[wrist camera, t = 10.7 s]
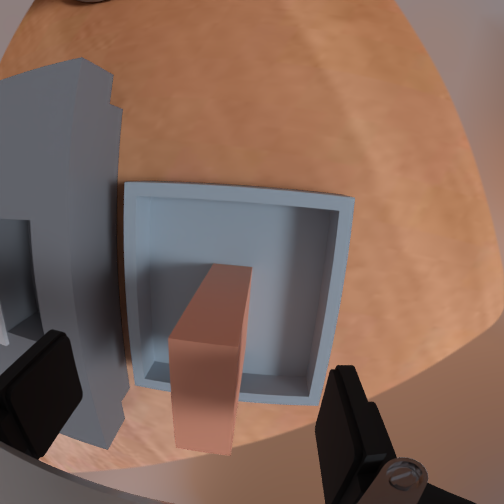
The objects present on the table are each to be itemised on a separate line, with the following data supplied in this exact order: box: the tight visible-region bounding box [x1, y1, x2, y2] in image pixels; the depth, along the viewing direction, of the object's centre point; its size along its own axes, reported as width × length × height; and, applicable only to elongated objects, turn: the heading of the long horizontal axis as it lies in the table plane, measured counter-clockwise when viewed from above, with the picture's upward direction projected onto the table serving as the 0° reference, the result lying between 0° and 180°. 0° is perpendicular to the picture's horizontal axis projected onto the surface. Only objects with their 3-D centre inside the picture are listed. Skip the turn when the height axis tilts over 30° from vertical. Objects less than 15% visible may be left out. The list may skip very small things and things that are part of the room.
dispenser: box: [0, 58, 130, 450], centre depth 19 cm, size 26×10×6 cm, turn 176°
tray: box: [124, 181, 355, 406], centre depth 20 cm, size 14×13×3 cm
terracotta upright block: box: [168, 263, 252, 455], centre depth 16 cm, size 6×2×10 cm, turn 175°
